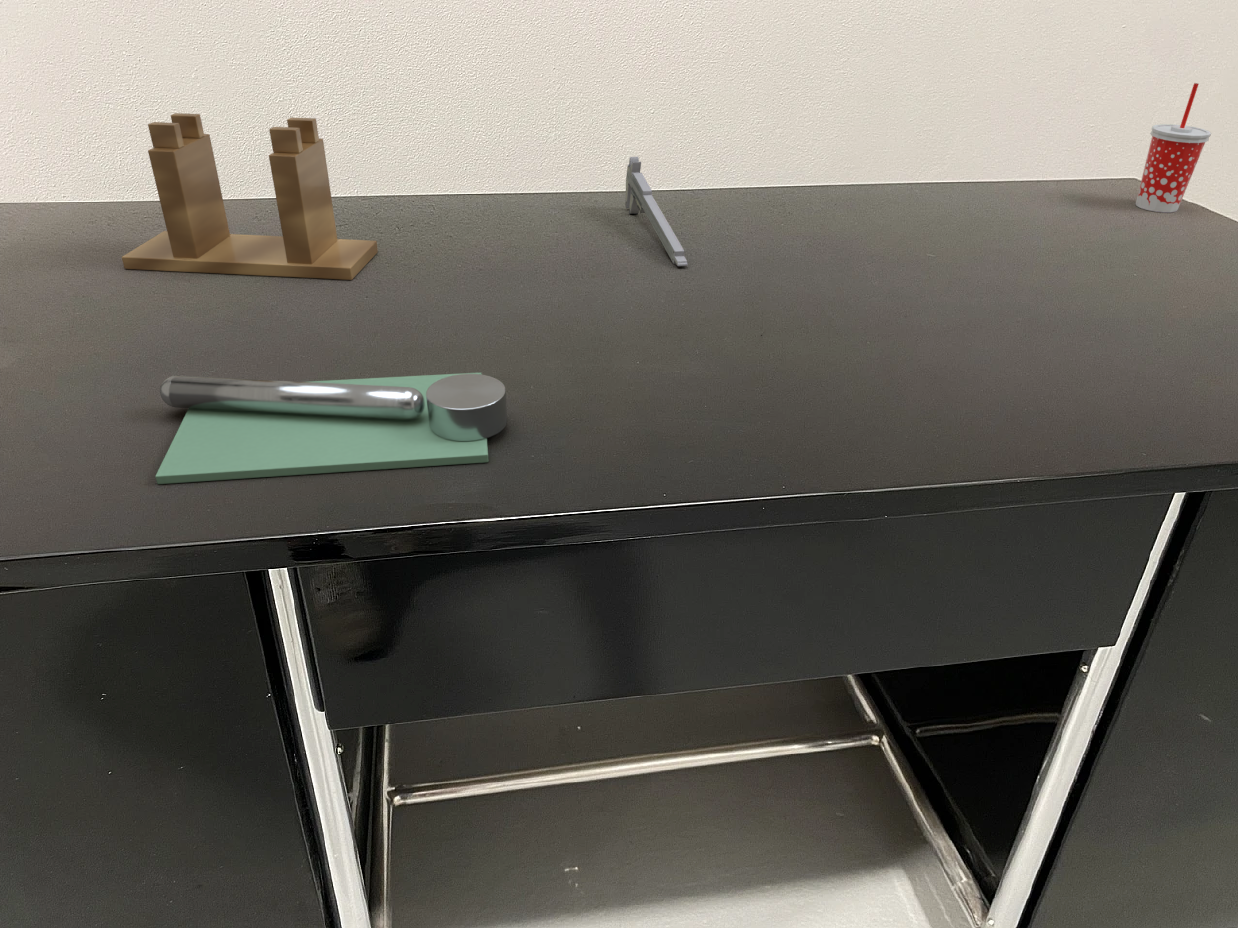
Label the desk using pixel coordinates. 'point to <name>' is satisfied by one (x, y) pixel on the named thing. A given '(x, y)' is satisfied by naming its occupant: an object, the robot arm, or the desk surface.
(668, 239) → the caliper
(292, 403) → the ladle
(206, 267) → the rack
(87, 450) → the desk surface
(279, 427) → the mat
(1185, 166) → the beverage cup
